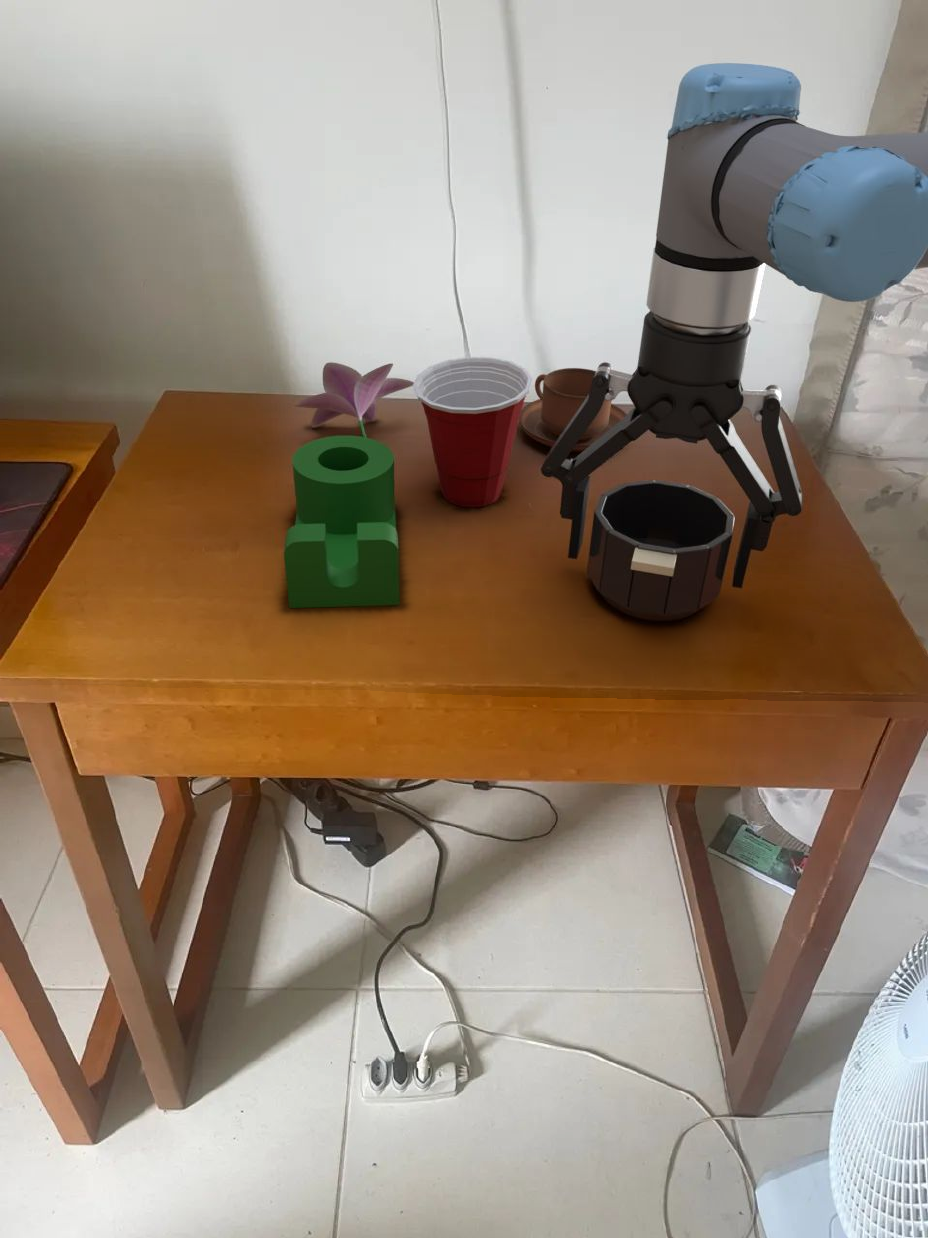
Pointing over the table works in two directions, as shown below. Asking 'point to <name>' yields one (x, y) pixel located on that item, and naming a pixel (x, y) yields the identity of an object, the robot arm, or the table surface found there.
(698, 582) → the cooking pot
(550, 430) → the cup and saucer
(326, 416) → the lily
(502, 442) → the plastic cup
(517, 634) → the table surface
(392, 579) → the green bracket
